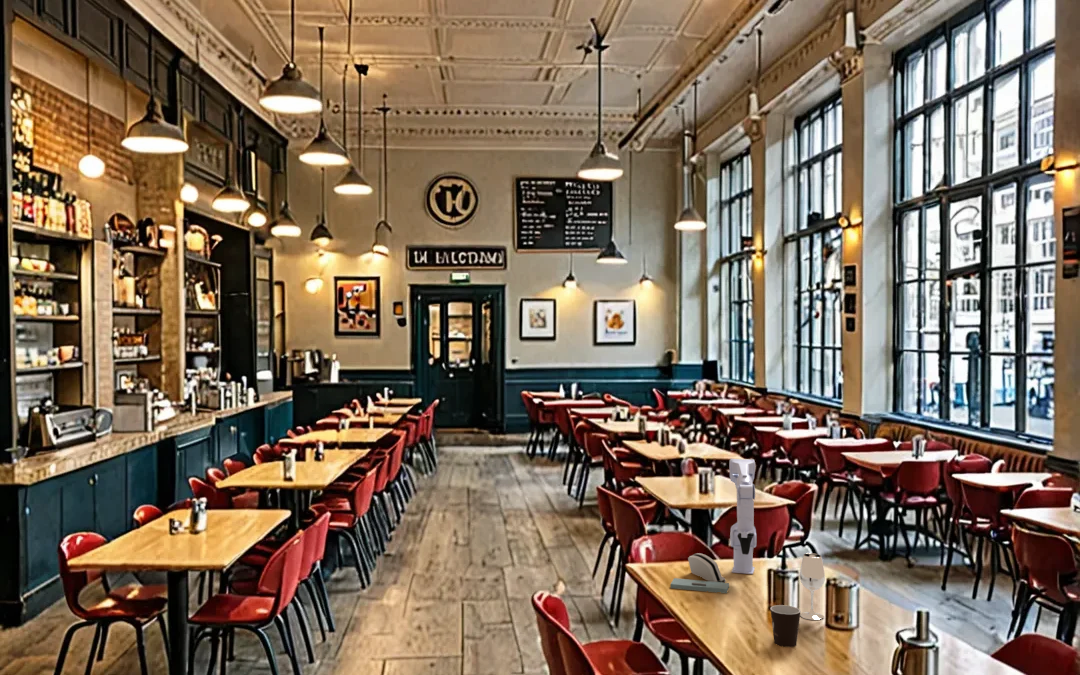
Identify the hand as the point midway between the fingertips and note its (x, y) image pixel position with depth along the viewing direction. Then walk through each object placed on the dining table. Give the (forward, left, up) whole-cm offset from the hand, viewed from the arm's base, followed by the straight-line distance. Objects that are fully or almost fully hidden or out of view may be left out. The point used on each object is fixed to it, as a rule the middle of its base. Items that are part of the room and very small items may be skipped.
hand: (745, 553), depth 323 cm
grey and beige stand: (0, -15, -11) cm, 18 cm away
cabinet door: (+13, -15, -10) cm, 23 cm away
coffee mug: (+61, +17, -11) cm, 65 cm away
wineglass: (+34, +24, -11) cm, 43 cm away
